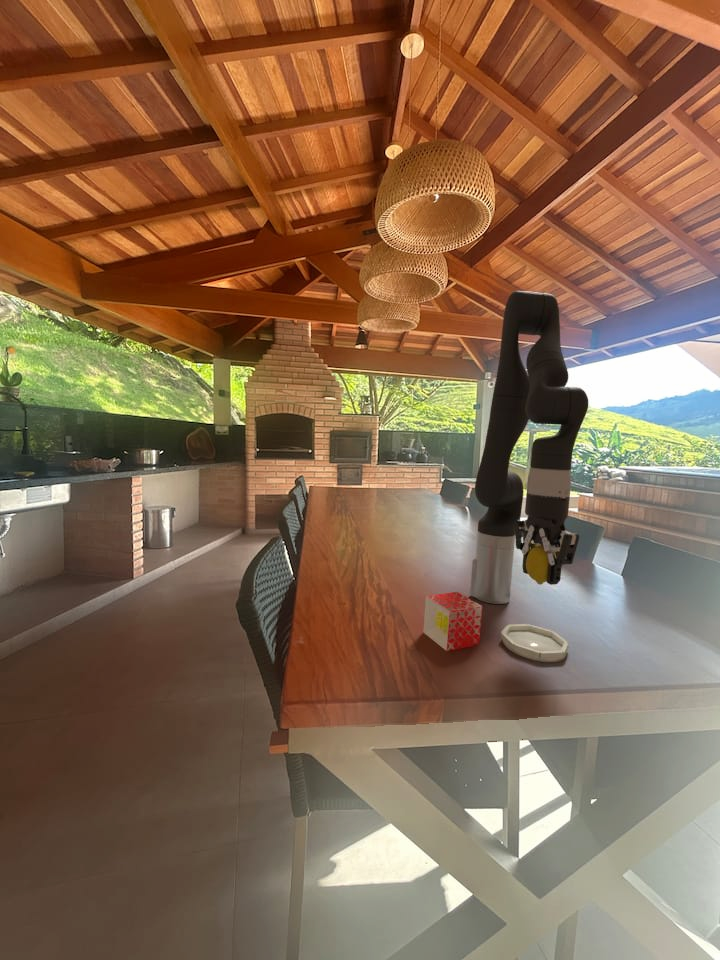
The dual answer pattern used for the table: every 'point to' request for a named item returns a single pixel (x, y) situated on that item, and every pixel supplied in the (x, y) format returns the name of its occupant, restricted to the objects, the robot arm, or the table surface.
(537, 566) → the lemon
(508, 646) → the dish
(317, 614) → the table surface
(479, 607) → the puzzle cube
